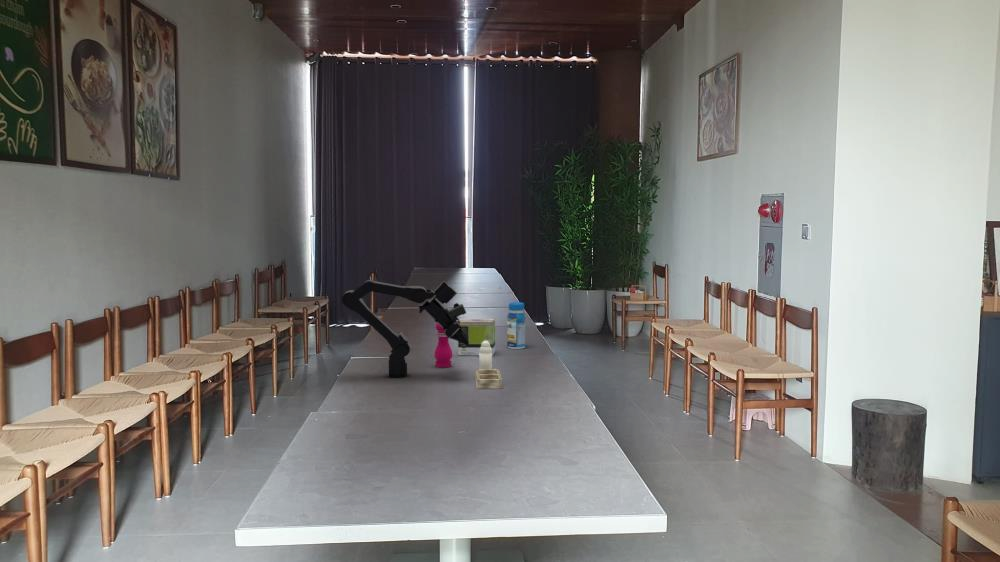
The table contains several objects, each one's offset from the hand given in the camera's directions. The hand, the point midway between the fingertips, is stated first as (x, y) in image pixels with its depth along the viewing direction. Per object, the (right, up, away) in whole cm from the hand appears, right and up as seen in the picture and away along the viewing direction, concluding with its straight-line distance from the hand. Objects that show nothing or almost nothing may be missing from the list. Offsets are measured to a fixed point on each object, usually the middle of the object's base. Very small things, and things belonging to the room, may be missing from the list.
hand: (467, 341), depth 282 cm
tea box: (+2, -9, +40) cm, 41 cm away
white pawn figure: (+7, -13, +2) cm, 14 cm away
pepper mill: (-10, -11, +16) cm, 22 cm away
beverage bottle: (+19, -7, +54) cm, 58 cm away
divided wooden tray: (+8, -14, -11) cm, 19 cm away
